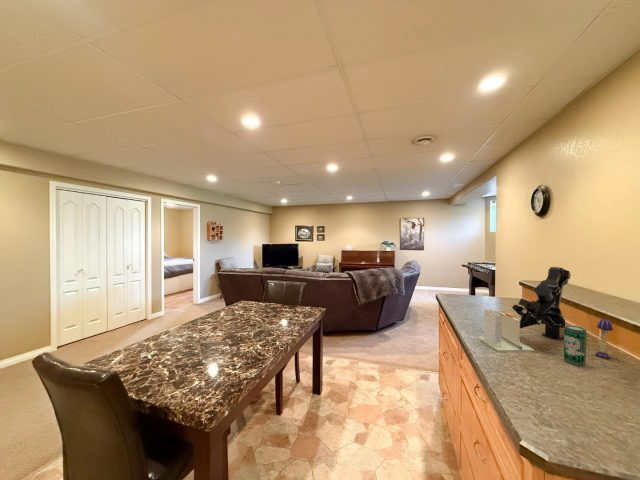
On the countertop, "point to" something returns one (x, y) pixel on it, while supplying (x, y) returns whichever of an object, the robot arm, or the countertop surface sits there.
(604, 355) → the toy lamp
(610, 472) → the countertop surface
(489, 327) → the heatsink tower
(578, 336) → the can
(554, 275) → the robot arm
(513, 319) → the hinged cream panel
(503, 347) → the pale green base plate
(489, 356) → the countertop surface
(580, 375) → the countertop surface
